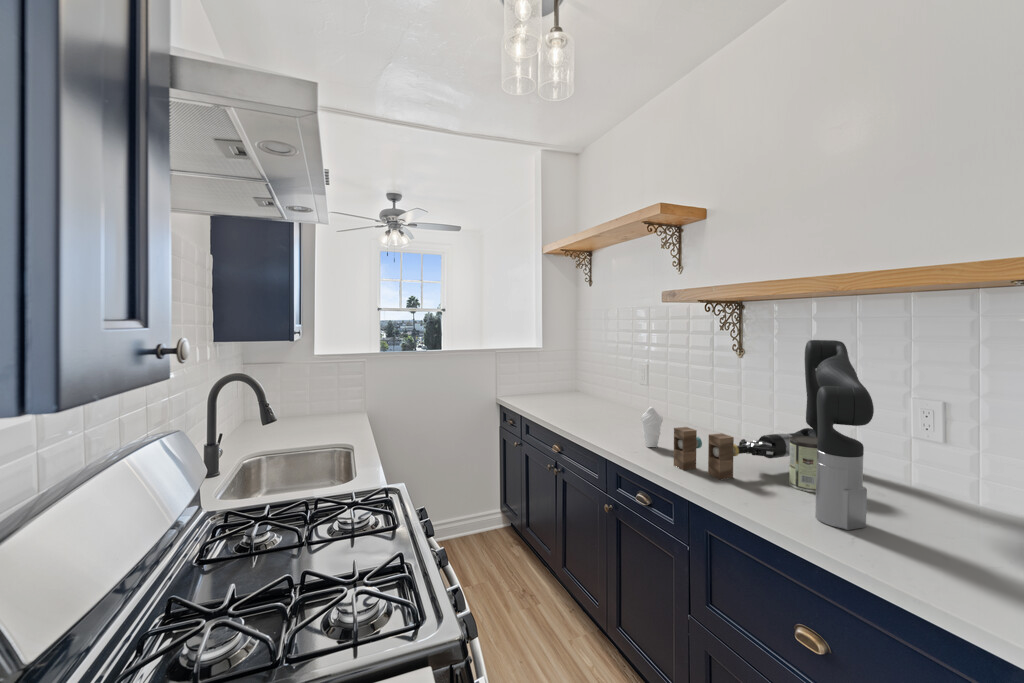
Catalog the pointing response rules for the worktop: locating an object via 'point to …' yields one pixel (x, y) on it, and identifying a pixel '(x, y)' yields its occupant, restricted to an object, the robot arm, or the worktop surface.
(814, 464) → the coffee can
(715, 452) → the ochre button
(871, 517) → the worktop surface
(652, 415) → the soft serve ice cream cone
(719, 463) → the walnut box
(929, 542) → the worktop surface
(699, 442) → the teal button
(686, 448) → the walnut box
